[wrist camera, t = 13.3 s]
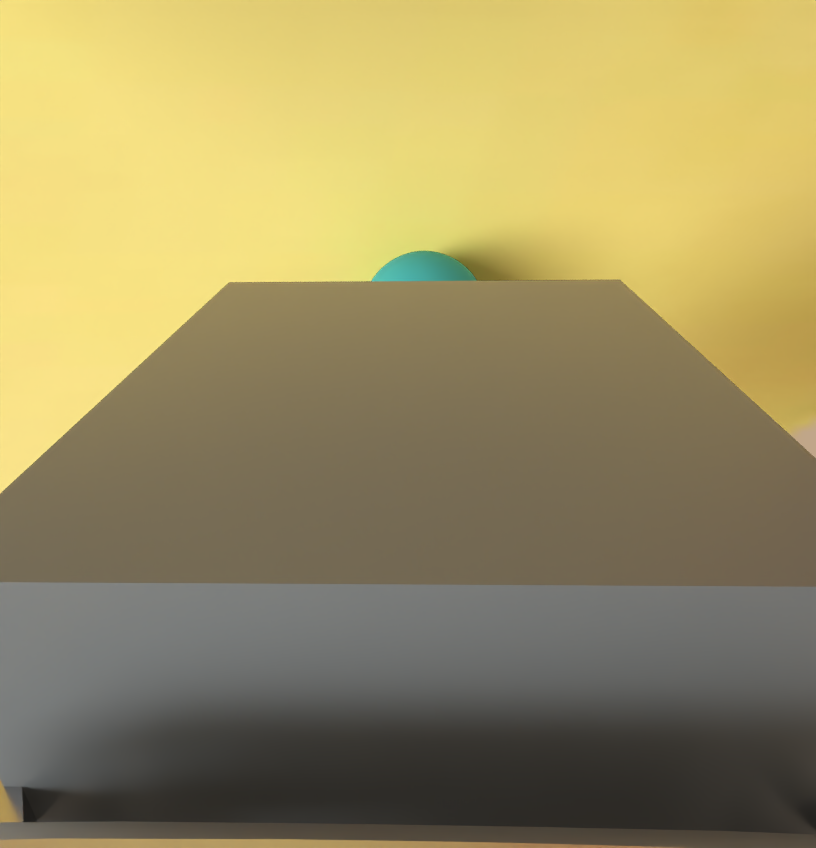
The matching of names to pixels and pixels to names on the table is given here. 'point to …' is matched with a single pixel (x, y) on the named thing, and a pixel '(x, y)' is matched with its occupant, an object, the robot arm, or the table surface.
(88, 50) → the table surface
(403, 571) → the grey tapered block
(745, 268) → the table surface
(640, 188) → the table surface
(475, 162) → the table surface
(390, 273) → the ball
